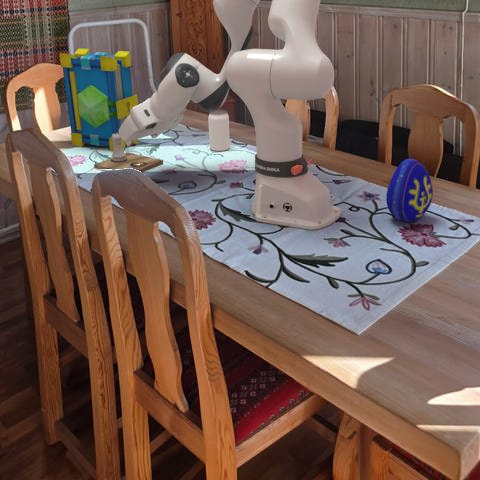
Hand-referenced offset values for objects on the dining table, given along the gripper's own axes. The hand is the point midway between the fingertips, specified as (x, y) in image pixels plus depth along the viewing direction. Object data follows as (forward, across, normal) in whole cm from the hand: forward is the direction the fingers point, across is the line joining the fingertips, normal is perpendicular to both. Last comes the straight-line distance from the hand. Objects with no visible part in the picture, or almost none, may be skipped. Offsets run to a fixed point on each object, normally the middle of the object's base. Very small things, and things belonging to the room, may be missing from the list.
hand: (140, 139), depth 197 cm
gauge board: (+12, -1, +1) cm, 12 cm away
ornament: (-48, -15, +62) cm, 79 cm away
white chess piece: (+14, -1, -2) cm, 14 cm away
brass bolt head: (+9, -1, +3) cm, 9 cm away
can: (+5, -30, +9) cm, 32 cm away
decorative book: (+29, -11, -16) cm, 35 cm away
